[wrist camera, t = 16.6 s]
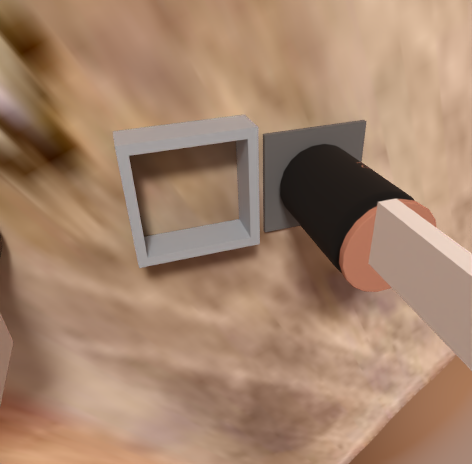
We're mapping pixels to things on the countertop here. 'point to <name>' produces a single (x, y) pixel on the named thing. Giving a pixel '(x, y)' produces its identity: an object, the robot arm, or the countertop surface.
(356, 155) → the pad
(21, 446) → the countertop surface
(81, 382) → the countertop surface
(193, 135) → the pocket frame
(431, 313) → the robot arm
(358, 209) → the coffee jar
